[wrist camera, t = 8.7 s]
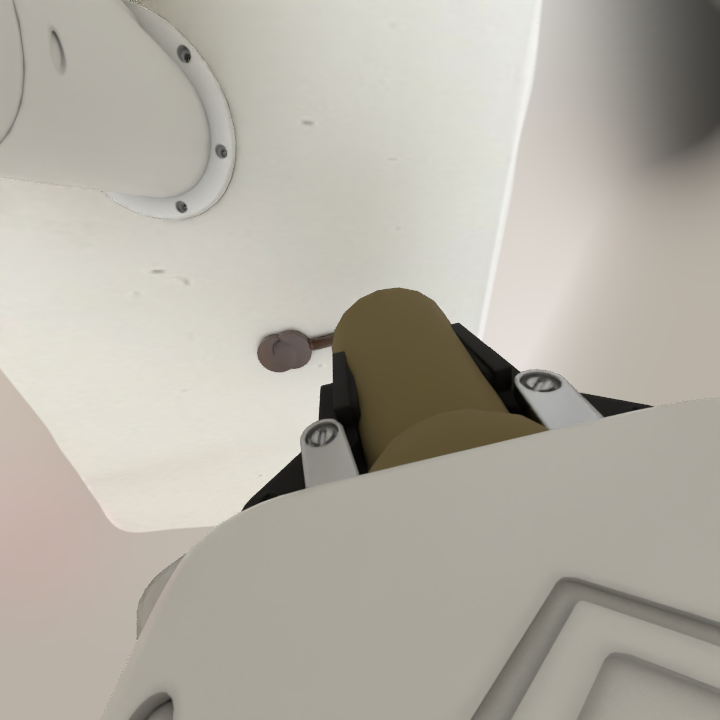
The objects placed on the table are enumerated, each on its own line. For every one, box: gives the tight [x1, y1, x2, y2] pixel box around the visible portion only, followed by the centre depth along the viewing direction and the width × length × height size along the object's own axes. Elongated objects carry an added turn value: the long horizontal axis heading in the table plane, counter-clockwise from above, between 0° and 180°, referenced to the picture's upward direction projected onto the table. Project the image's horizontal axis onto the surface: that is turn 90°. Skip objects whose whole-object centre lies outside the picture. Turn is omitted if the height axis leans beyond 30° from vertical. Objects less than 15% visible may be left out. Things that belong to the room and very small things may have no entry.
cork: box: [332, 288, 550, 473], centre depth 9 cm, size 6×6×11 cm
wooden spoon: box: [257, 330, 334, 372], centre depth 30 cm, size 16×4×1 cm, turn 103°
